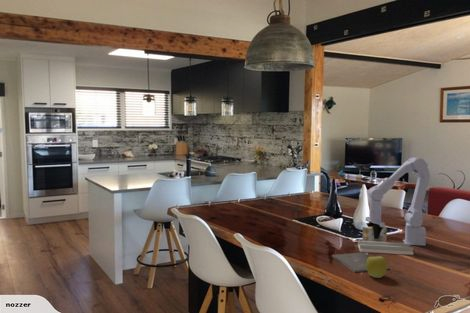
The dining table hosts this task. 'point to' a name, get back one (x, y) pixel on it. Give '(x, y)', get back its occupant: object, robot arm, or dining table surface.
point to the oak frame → (369, 234)
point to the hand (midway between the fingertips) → (374, 237)
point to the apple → (376, 266)
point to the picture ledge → (385, 247)
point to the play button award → (354, 261)
